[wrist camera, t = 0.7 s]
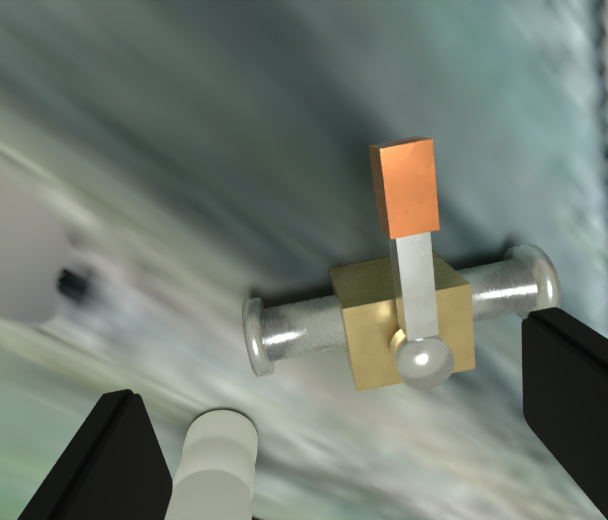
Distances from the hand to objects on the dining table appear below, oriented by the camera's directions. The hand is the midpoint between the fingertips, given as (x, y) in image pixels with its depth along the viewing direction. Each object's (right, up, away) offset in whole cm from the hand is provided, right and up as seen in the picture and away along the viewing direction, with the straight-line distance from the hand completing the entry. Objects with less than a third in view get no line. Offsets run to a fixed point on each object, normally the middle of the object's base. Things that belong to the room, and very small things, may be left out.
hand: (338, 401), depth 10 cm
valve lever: (+6, +3, +16) cm, 18 cm away
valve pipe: (+6, 0, +27) cm, 27 cm away
